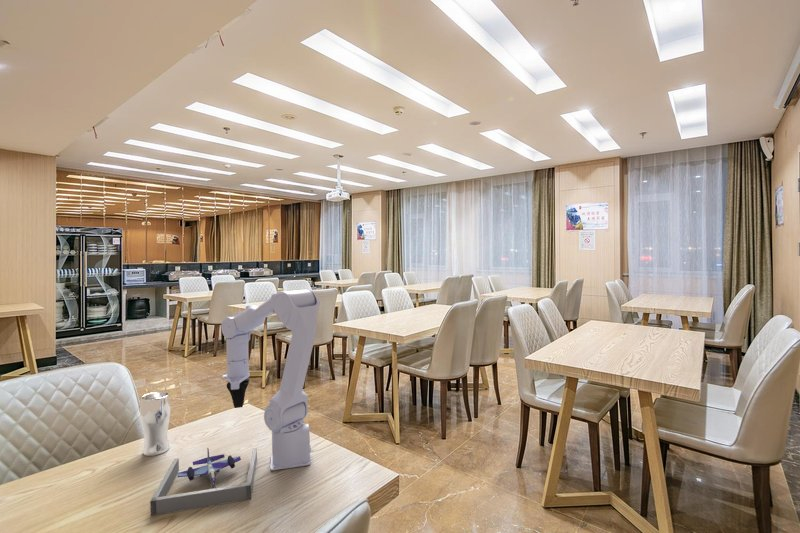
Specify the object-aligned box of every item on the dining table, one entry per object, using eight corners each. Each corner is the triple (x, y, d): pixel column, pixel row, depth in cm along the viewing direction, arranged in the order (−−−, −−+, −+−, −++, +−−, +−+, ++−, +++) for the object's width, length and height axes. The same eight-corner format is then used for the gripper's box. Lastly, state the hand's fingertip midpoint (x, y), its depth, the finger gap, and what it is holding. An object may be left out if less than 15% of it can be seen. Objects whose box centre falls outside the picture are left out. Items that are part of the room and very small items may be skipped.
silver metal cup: (154, 443, 110) (153, 390, 110) (177, 445, 109) (175, 391, 109) (134, 456, 103) (133, 399, 103) (158, 457, 102) (157, 400, 102)
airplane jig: (256, 459, 101) (256, 447, 101) (251, 499, 85) (250, 485, 85) (174, 471, 96) (174, 458, 96) (150, 515, 80) (150, 501, 79)
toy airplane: (216, 502, 84) (216, 485, 84) (164, 491, 88) (164, 476, 88) (255, 470, 96) (255, 455, 96) (208, 462, 100) (208, 448, 100)
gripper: (226, 353, 116) (227, 399, 117) (217, 367, 102) (218, 418, 103) (251, 352, 118) (252, 396, 119) (246, 364, 104) (247, 415, 105)
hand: (238, 406), depth 111 cm, fingers closed
